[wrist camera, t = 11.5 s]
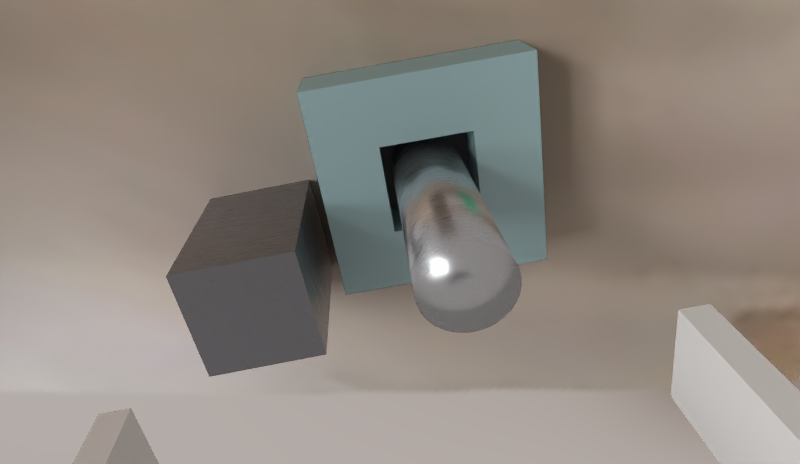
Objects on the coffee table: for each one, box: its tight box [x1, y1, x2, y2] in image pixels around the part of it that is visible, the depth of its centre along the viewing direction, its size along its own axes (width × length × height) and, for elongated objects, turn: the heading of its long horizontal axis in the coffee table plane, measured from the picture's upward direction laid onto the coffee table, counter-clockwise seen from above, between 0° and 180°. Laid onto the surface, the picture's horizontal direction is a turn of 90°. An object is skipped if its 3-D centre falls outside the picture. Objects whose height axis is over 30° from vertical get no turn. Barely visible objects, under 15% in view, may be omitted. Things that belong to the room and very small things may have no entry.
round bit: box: [391, 136, 521, 333], centre depth 27 cm, size 4×4×14 cm
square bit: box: [166, 180, 332, 377], centre depth 31 cm, size 6×6×9 cm
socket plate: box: [297, 40, 547, 294], centre depth 32 cm, size 12×12×4 cm
